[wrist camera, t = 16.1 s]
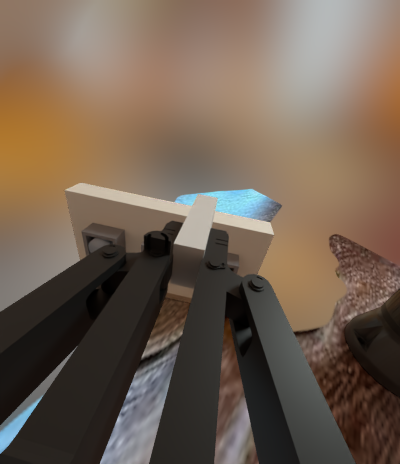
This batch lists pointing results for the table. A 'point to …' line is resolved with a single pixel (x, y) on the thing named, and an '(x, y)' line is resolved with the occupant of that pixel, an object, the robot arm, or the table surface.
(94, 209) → the button panel
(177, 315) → the table surface
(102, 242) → the slate button
